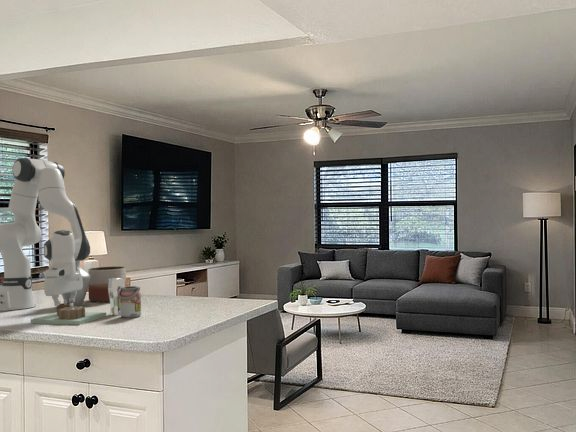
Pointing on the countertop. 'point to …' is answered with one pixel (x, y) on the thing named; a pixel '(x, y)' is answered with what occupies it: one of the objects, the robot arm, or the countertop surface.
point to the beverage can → (130, 301)
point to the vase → (80, 293)
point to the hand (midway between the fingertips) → (64, 303)
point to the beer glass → (115, 294)
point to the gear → (62, 307)
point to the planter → (103, 281)
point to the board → (69, 316)
